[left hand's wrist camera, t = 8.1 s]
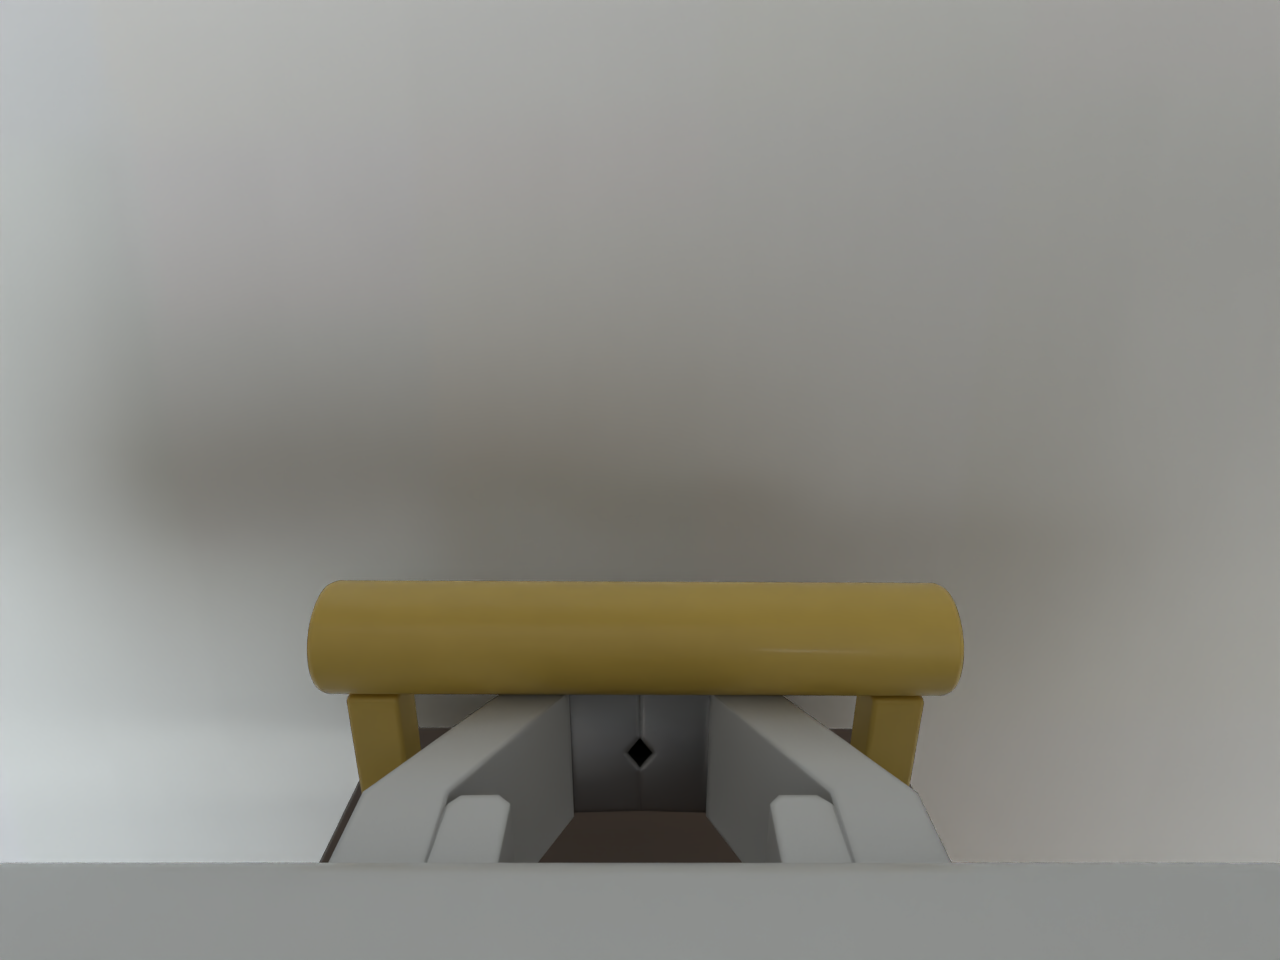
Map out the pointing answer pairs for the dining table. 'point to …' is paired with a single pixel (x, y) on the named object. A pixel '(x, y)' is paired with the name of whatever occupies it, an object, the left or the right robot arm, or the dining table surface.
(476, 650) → the drawer
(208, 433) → the dining table surface
